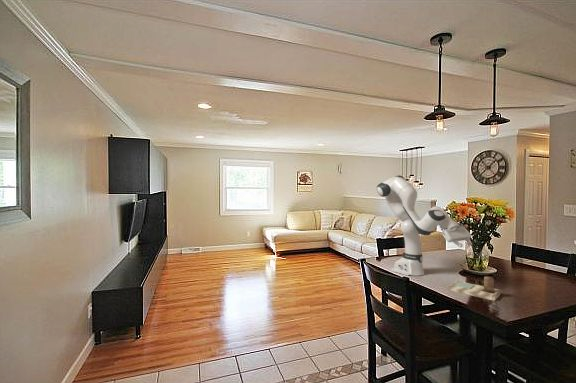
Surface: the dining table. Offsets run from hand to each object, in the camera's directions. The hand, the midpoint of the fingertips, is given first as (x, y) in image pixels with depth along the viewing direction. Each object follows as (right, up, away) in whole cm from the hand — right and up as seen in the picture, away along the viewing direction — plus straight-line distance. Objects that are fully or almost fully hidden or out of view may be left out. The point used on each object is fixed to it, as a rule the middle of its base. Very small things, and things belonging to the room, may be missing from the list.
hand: (466, 245), depth 167 cm
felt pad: (-2, -23, -2) cm, 23 cm away
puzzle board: (+1, -26, -6) cm, 26 cm away
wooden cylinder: (+6, -26, -11) cm, 29 cm away
